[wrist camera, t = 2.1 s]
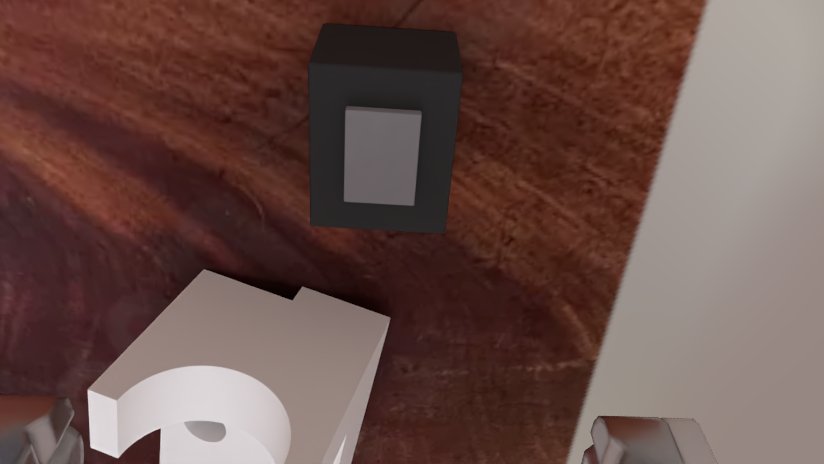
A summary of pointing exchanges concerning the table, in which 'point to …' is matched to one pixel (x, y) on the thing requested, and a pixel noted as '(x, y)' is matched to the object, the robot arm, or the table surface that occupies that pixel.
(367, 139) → the black block
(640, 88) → the table surface
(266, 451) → the bracket
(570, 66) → the table surface
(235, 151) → the table surface
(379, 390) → the table surface
